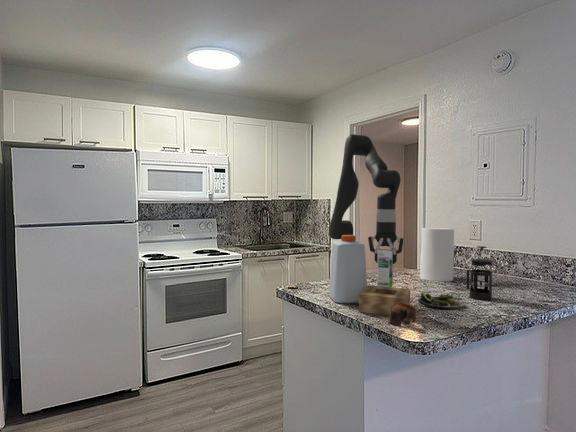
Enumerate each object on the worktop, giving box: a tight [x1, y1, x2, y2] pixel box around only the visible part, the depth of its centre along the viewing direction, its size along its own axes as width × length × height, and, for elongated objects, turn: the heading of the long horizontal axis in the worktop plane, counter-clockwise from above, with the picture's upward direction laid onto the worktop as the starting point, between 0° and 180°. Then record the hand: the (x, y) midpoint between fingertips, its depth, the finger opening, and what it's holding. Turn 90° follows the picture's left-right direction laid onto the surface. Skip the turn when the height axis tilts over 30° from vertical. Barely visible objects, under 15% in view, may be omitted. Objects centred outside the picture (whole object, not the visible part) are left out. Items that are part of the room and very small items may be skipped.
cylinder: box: [419, 227, 455, 282], centre depth 223 cm, size 17×17×28 cm
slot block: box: [358, 284, 411, 317], centre depth 160 cm, size 17×17×7 cm
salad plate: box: [416, 291, 466, 310], centre depth 169 cm, size 19×18×5 cm
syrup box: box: [376, 248, 395, 288], centre depth 159 cm, size 6×6×14 cm
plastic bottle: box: [328, 234, 368, 304], centre depth 175 cm, size 15×15×28 cm
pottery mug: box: [387, 302, 417, 327], centre depth 141 cm, size 12×10×8 cm
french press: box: [466, 245, 494, 301], centre depth 179 cm, size 12×9×23 cm
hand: (385, 263), depth 159 cm, fingers closed on syrup box, 5 cm apart
